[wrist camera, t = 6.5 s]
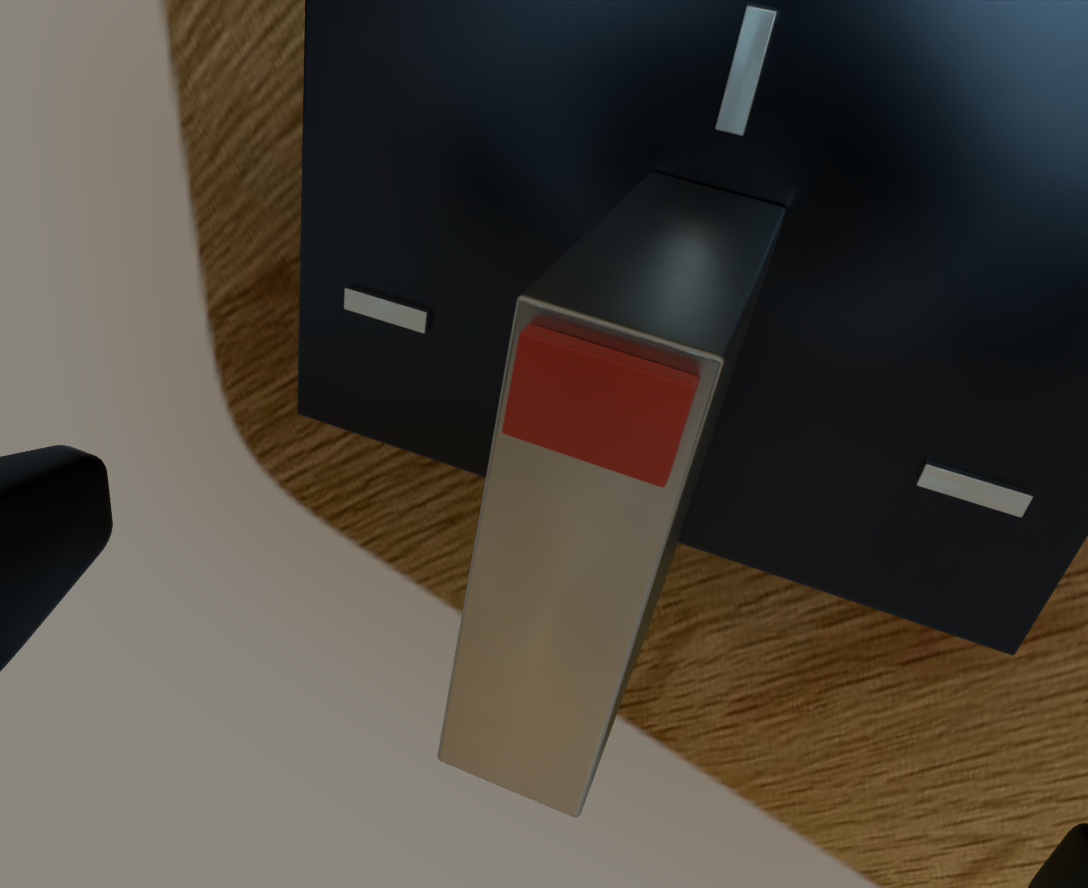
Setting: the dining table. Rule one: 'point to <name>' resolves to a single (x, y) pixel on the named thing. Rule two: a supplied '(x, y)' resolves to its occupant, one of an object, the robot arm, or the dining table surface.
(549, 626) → the dial
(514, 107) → the console
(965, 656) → the dining table surface
